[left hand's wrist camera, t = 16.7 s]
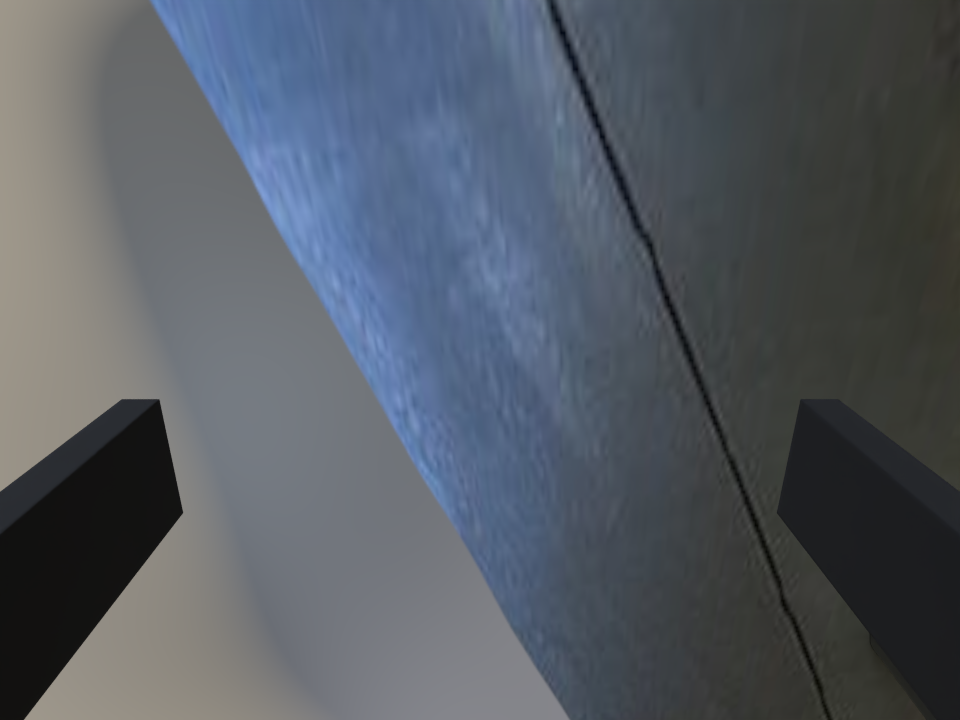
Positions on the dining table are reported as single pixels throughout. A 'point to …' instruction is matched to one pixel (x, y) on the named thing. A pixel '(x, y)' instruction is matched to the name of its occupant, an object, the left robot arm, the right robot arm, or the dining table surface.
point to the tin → (901, 680)
